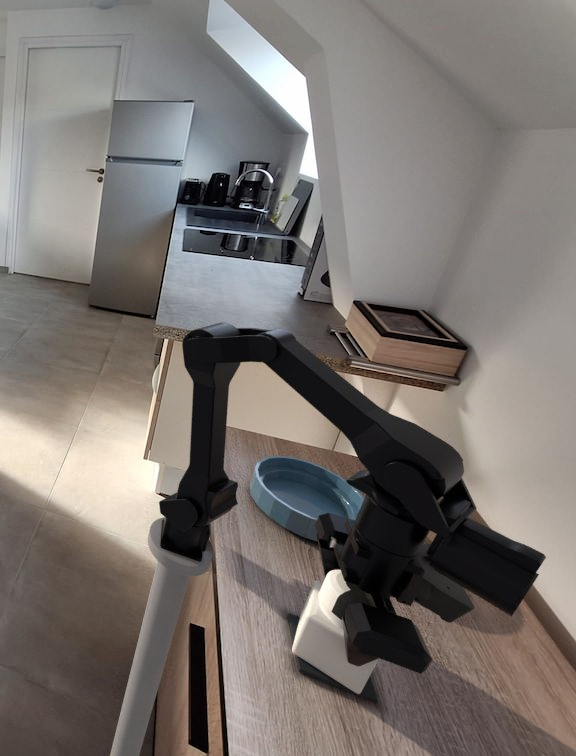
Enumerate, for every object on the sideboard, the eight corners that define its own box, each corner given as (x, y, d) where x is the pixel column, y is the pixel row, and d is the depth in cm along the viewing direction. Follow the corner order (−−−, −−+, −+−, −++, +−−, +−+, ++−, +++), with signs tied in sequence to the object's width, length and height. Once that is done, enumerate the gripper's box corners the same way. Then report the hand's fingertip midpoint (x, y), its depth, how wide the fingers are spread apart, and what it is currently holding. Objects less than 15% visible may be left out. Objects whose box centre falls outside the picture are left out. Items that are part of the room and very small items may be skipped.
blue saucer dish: (253, 525, 79) (261, 503, 78) (244, 465, 94) (250, 446, 92) (374, 563, 73) (386, 540, 71) (344, 493, 88) (353, 472, 86)
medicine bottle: (364, 651, 60) (397, 587, 55) (359, 697, 55) (395, 629, 50) (300, 614, 64) (326, 551, 60) (290, 653, 59) (318, 587, 55)
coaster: (298, 671, 58) (299, 668, 57) (287, 615, 64) (288, 612, 64) (376, 703, 55) (378, 700, 54) (356, 641, 61) (357, 638, 61)
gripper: (533, 645, 41) (462, 746, 46) (438, 504, 57) (393, 591, 62) (381, 593, 45) (331, 691, 51) (332, 476, 61) (298, 560, 67)
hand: (341, 627), depth 58 cm, fingers open, 9 cm apart
